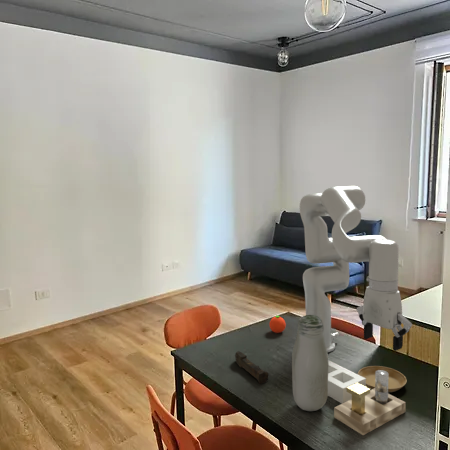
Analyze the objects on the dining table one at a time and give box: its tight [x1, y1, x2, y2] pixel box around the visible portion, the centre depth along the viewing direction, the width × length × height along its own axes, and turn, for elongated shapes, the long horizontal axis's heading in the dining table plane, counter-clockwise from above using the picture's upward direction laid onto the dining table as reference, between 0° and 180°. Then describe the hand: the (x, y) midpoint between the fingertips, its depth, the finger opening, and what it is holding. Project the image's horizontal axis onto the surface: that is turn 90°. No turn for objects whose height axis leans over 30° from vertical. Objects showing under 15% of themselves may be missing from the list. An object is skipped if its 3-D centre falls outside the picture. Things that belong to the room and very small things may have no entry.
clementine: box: [268, 315, 287, 334], centre depth 182 cm, size 8×7×7 cm
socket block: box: [333, 388, 407, 436], centre depth 120 cm, size 18×10×3 cm, turn 123°
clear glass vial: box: [375, 370, 389, 405], centre depth 123 cm, size 4×4×11 cm
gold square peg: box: [347, 383, 371, 416], centre depth 117 cm, size 4×4×9 cm
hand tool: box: [234, 350, 270, 385], centre depth 148 cm, size 19×4×5 cm, turn 25°
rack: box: [327, 359, 367, 404], centre depth 135 cm, size 10×16×5 cm, turn 33°
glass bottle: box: [291, 314, 330, 412], centre depth 123 cm, size 10×10×28 cm
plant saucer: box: [357, 365, 407, 394], centre depth 137 cm, size 15×15×3 cm
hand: (382, 343), depth 120 cm, fingers open, 9 cm apart
